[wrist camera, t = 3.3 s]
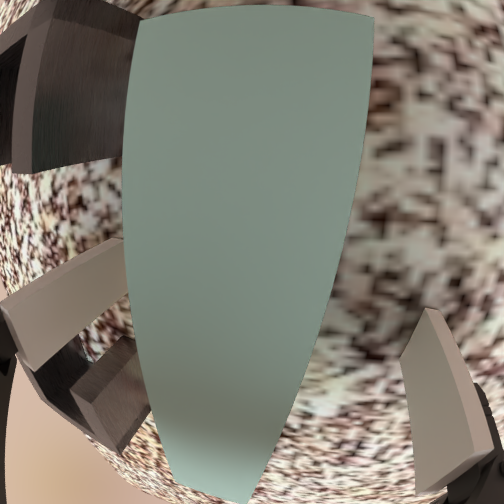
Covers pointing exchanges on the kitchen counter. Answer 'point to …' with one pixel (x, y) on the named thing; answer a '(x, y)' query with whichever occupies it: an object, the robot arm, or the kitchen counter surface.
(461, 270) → the kitchen counter surface
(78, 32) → the cap
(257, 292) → the pale green rectangular block
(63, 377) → the cap
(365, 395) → the kitchen counter surface
